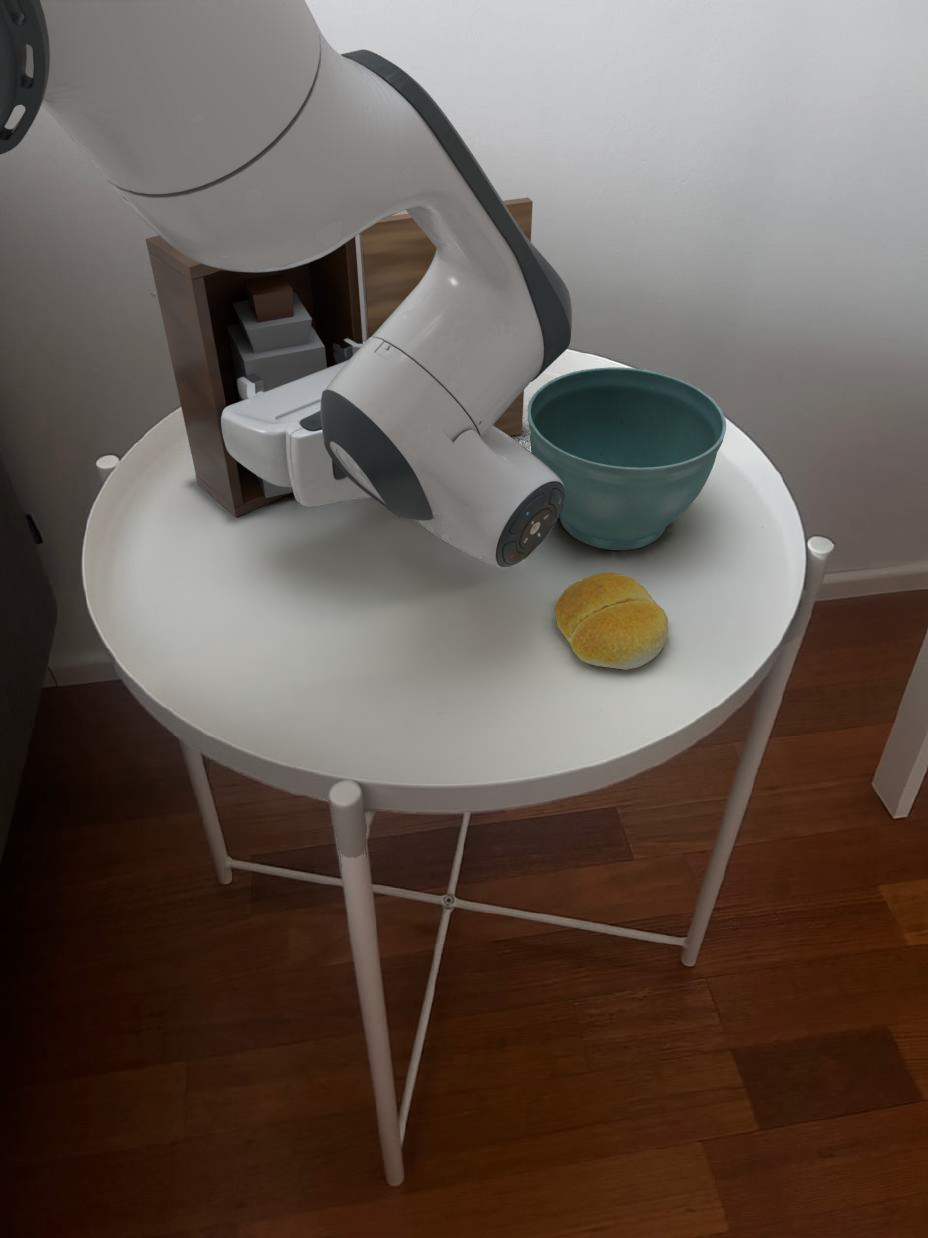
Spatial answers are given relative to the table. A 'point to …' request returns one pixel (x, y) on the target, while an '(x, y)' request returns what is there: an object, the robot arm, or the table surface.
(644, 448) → the flower pot
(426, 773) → the table surface
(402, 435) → the robot arm
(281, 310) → the perfume bottle
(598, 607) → the bread roll
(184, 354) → the cupboard
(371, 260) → the cupboard door
